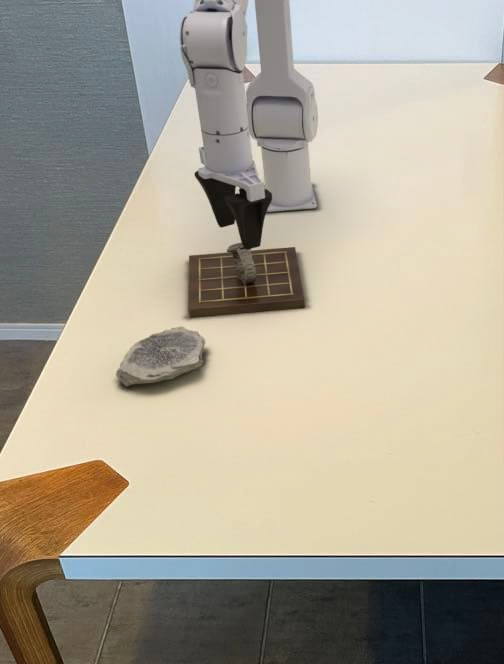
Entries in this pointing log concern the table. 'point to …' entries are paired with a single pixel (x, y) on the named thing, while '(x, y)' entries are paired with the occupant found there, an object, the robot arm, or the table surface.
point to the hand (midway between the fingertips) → (239, 235)
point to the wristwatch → (243, 263)
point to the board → (236, 297)
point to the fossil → (162, 357)
